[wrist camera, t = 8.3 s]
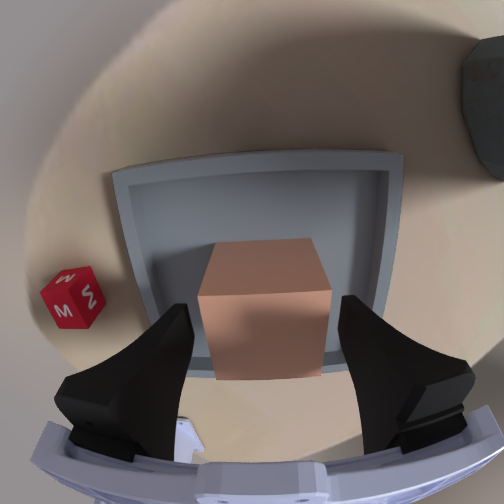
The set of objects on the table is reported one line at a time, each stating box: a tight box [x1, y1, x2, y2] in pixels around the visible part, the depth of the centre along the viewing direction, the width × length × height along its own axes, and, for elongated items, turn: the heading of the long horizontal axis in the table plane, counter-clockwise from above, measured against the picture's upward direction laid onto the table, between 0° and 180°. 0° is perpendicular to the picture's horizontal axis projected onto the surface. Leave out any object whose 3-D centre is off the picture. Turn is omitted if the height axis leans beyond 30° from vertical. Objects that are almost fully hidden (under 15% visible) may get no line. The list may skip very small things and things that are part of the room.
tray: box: [112, 149, 404, 378], centre depth 15 cm, size 14×14×2 cm
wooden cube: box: [197, 238, 332, 380], centre depth 13 cm, size 5×5×5 cm
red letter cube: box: [40, 266, 106, 329], centre depth 16 cm, size 3×3×3 cm
